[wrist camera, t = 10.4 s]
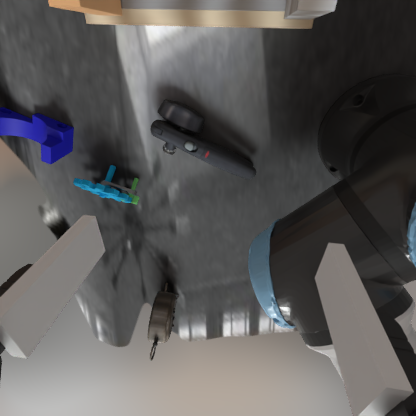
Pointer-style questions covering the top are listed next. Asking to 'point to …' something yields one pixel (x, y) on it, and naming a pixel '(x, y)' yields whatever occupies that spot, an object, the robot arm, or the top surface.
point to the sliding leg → (90, 6)
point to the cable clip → (39, 133)
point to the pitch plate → (219, 13)
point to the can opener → (195, 139)
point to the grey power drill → (161, 318)
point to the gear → (105, 188)
